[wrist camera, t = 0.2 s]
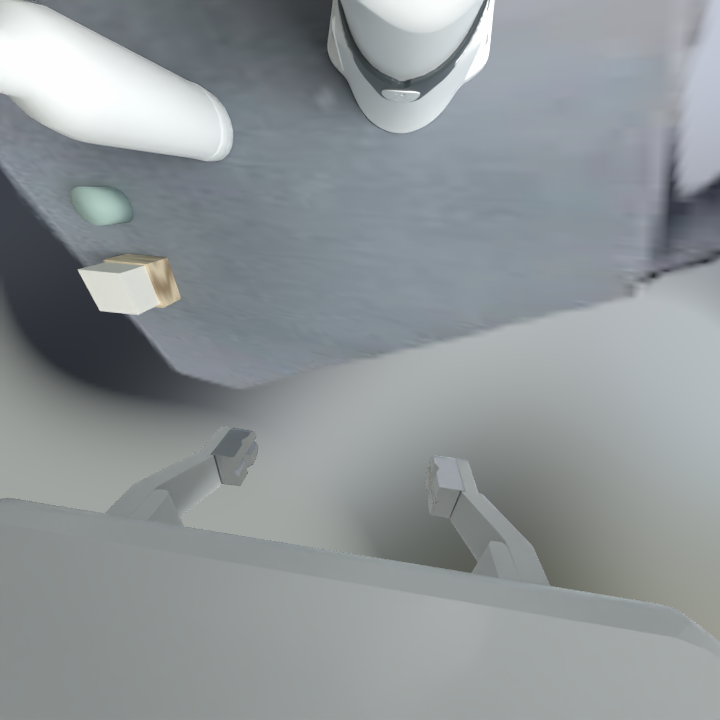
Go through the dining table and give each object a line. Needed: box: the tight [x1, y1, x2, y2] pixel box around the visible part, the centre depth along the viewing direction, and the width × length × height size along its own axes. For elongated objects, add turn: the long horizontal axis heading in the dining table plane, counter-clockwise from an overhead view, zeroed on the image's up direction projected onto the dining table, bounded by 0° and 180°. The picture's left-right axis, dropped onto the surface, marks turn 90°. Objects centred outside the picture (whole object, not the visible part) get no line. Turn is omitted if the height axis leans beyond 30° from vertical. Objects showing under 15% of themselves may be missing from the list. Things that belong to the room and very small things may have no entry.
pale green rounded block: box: [71, 187, 133, 226], centre depth 42 cm, size 5×5×5 cm
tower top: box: [78, 262, 160, 315], centre depth 44 cm, size 7×7×5 cm
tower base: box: [103, 254, 181, 308], centre depth 49 cm, size 8×8×5 cm
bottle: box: [0, 0, 233, 162], centre depth 24 cm, size 8×8×30 cm
